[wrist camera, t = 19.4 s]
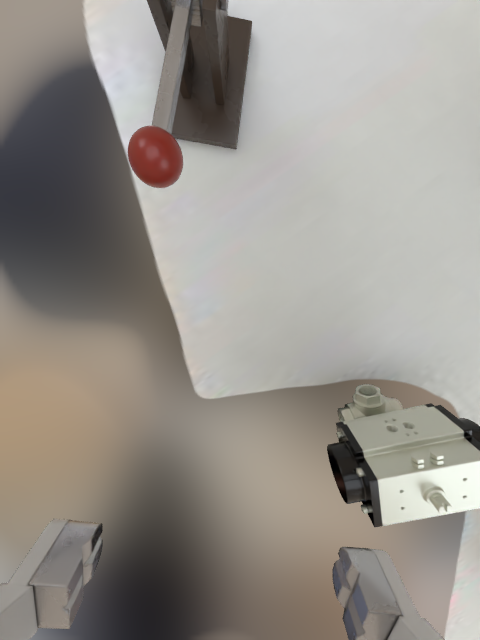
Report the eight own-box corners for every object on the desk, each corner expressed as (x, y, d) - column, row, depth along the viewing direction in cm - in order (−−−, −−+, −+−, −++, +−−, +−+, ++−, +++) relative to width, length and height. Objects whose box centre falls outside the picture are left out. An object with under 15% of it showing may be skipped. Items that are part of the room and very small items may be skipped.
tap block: (236, 149, 32) (235, 81, 19) (165, 136, 32) (115, 57, 19) (251, 31, 29) (263, -151, 16) (173, 15, 29) (118, -186, 15)
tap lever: (182, 202, 19) (173, 168, 15) (134, 193, 19) (113, 158, 15) (215, 9, 21) (213, -60, 17) (172, 0, 21) (161, -72, 17)
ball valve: (414, 369, 41) (539, 456, 24) (416, 412, 44) (531, 518, 27) (307, 392, 42) (354, 491, 25) (314, 433, 45) (362, 548, 28)
